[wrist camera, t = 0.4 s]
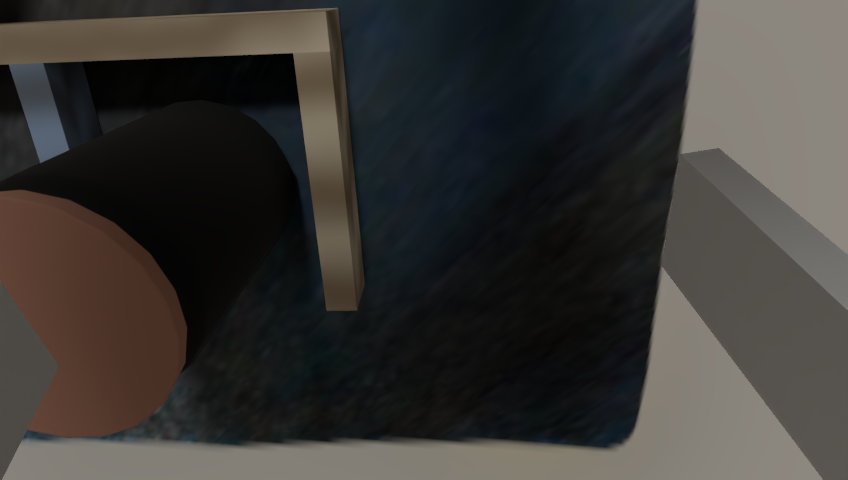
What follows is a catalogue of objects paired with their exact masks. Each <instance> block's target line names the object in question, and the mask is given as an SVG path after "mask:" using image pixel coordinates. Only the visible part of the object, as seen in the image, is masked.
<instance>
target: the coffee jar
mask: <svg viewBox="0 0 848 480" xmlns="http://www.w3.org/2000/svg"><path fill="white" fill-rule="evenodd" d="M293 196H294V187H293V182H292V177H291V172H290V168H289V164H288V162H287V160H286V159H285V157H284V155H283V153H282V151H281V150H280V148H279V146H278V144H277V142H276V140H275V139H274V138H273V137H272V136H271V135H270V134H269V133H268V132H267V131H266V130H265V129H264V128H263V127H262V126H261V125H260V124H259V123H258V122H257V121H256V120H254V119H252V118H250V117H249V116H247V115H245V114H243V113H241V112H240V111H238V110H236V109H234V108H232V107H231V106H228V105H223V104H219V103H214V102H210V101H205V100H195V101H184V102H175V103H173V104H171V105H168V106H166V107H164V108H162V109H159V110H157V111H155V112H153V113H151V114H148V115H146V116H144V117H142V118H139V119H137V120H135V121H133V122H130V123H128V124H126V125H124V126H122V127H119V128H117V129H115V130H113V131H110V132H108V133H106V134H104V135H102V136H99V137H97V138H95V139H93V140H90V141H88V142H86V143H84V144H82V145H79V146H77V147H75V148H73V149H70V150H68V151H66V152H64V153H62V154H59V155H57V156H55V157H53V158H50V159H48V160H46V161H44V162H41V163H39V164H37V165H35V166H33V167H30V168H28V169H26V170H24V171H21V172H19V173H17V174H15V175H13V176H11V177H9V178H7V179H5V180H2V181H0V281H1V283H2V284H3V286H4V287H5V289H6V290H7V291H8V293H9V294H10V296H11V297H12V299H13V300H14V302H15V303H16V304H17V306H18V307H19V309H20V310H21V312H22V313H23V315H24V316H25V318H26V319H27V320H28V322H29V323H30V325H31V326H32V328H33V329H34V331H35V332H36V334H37V335H38V336H39V338H40V339H41V341H42V342H43V344H44V345H45V347H46V348H47V349H48V351H49V352H50V354H51V355H52V357H53V358H54V360H55V361H56V363H57V364H58V365H59V367H58V369H57V371H56V373H55V375H54V377H53V379H52V381H51V383H50V385H49V387H48V389H47V391H46V393H45V395H44V397H43V399H42V401H41V403H40V405H39V407H38V409H37V411H36V413H35V415H34V417H33V419H32V421H31V423H30V425H29V427H28V429H27V430H31V431H36V432H41V433H46V434H51V435H56V436H61V437H66V438H75V437H98V436H107V435H110V434H113V433H116V432H119V431H122V430H124V429H127V428H130V427H133V426H136V425H138V424H140V423H141V422H142V421H144V420H145V419H146V418H147V417H148V416H150V415H151V414H152V413H153V412H154V411H156V410H157V409H158V408H159V407H160V406H162V405H163V404H164V403H165V402H166V400H167V398H168V396H169V394H170V393H171V391H172V389H173V387H174V385H175V383H176V381H177V379H178V377H179V375H180V373H181V372H183V371H184V370H185V369H186V368H187V367H189V366H190V365H191V364H192V363H193V362H194V360H195V359H196V357H197V356H198V355H199V353H200V352H201V350H202V349H203V347H204V346H205V344H206V343H207V341H208V340H209V338H210V337H211V336H212V334H213V333H214V331H215V330H216V328H217V327H218V325H219V324H220V322H221V321H222V319H223V318H224V316H225V315H226V314H227V312H228V311H229V309H230V308H231V306H232V305H233V303H234V302H235V300H236V299H237V297H238V296H239V295H240V293H241V292H242V290H243V289H244V287H245V286H246V284H247V283H248V281H249V280H250V278H251V277H252V276H253V274H254V273H255V271H256V270H257V268H258V267H259V265H260V264H261V262H262V261H263V259H264V258H265V257H266V255H267V254H268V252H269V251H270V249H271V248H272V246H273V245H274V243H275V242H276V240H277V239H278V238H279V236H280V235H281V233H282V231H283V229H284V227H285V225H286V223H287V221H288V219H289V217H290V216H291V211H292V203H293Z"/></svg>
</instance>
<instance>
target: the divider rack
mask: <svg viewBox="0 0 848 480" xmlns="http://www.w3.org/2000/svg"><path fill="white" fill-rule="evenodd" d="M283 53H293V56H294V64H295V72H296V80H297V87H298V95H299V103H300V110H301V118H302V126H303V134H304V141H305V149H306V157H307V164H308V172H309V180H310V188H311V195H312V203H313V211H314V218H315V226H316V234H317V242H318V249H319V257H320V265H321V272H322V280H323V288H324V296H325V303H326V311H357V309H358V306H359V303H360V299H361V296H362V293H363V289H364V286H365V280H364V270H363V259H362V249H361V238H360V228H359V218H358V207H357V197H356V187H355V176H354V166H353V155H352V145H351V135H350V124H349V114H348V104H347V93H346V83H345V72H344V62H343V52H342V41H341V31H340V21H339V10H338V8H327V9H305V10H282V11H260V12H237V13H215V14H193V15H170V16H148V17H125V18H103V19H81V20H58V21H36V22H13V23H0V65H6V64H9V67H10V70H11V73H12V76H13V80H14V83H15V86H16V89H17V92H18V95H19V98H20V101H21V104H22V107H23V111H24V114H25V117H26V120H27V123H28V126H29V129H30V132H31V135H32V138H33V141H34V145H35V148H36V151H37V154H38V157H39V160H40V163H41V162H44V161H46V160H48V159H50V158H53V157H55V156H57V155H59V154H62V153H64V152H66V151H68V150H70V149H73V148H75V147H77V146H79V145H82V144H84V143H86V142H88V141H90V140H93V139H95V138H97V137H99V136H102V132H101V129H100V125H99V121H98V118H97V114H96V110H95V107H94V103H93V99H92V96H91V92H90V88H89V85H88V81H87V77H86V74H85V70H84V66H83V63H82V61H107V60H132V59H157V58H183V57H208V56H233V55H258V54H283Z"/></svg>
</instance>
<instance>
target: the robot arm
mask: <svg viewBox="0 0 848 480" xmlns="http://www.w3.org/2000/svg"><path fill="white" fill-rule="evenodd" d="M662 267H663V268H664V269H665V271H666V272H667V273H668V275H669V276H670V277H671V279H672V280H673V281H674V283H675V284H676V285H677V286H678V288H679V289H680V290H681V292H682V293H683V294H684V296H685V297H686V298H687V300H688V301H689V302H690V304H691V305H692V306H693V308H694V309H695V310H696V312H697V313H698V314H699V316H700V317H701V318H702V320H703V321H704V322H705V324H706V325H707V326H708V328H709V329H710V330H711V331H712V333H713V334H714V335H715V337H716V338H717V339H718V341H719V342H720V343H721V345H722V346H723V347H724V349H725V350H726V351H727V353H728V354H729V355H730V357H731V358H732V359H733V361H734V362H735V363H736V365H737V366H738V367H739V369H740V370H741V371H742V373H743V374H744V375H745V377H746V378H747V379H748V381H749V382H750V383H751V384H752V386H753V387H754V388H755V390H756V391H757V392H758V394H759V395H760V396H761V398H762V399H763V400H764V402H765V403H766V404H767V406H768V407H769V408H770V410H771V411H772V412H773V414H774V415H775V416H776V418H777V419H778V420H779V422H780V423H781V424H782V426H783V427H784V428H785V430H786V431H787V432H788V433H789V435H790V436H791V437H792V439H793V440H794V441H795V443H796V444H797V445H798V447H799V448H800V449H801V451H802V452H803V453H804V455H805V456H806V457H807V459H808V460H809V461H810V463H811V464H812V465H813V467H814V468H815V469H816V471H817V472H818V473H819V475H820V476H821V477H822V478H823V480H848V255H847V254H846V253H845V252H844V251H842V250H841V249H840V248H839V247H838V246H836V245H835V244H834V243H833V242H832V241H830V240H829V239H828V238H827V237H825V236H824V235H823V234H822V233H820V232H819V231H818V230H817V229H816V228H815V227H813V226H812V225H811V224H810V223H808V222H807V221H806V220H805V219H804V218H803V217H801V216H800V215H799V214H798V213H796V212H795V211H794V210H793V209H792V208H790V207H789V206H788V205H787V204H786V203H784V202H783V201H782V200H780V199H779V198H778V197H777V196H776V195H774V194H773V193H772V192H771V191H770V190H769V189H767V188H766V187H765V186H764V185H763V184H761V183H760V182H759V181H758V180H757V179H755V178H754V177H753V176H752V175H751V174H749V173H748V172H747V171H746V170H744V169H743V168H742V167H741V166H740V165H738V164H737V163H736V162H734V160H732V159H731V158H730V157H729V156H728V155H726V154H725V153H724V152H723V151H722V150H720V149H719V148H717V149H711V150H704V151H698V152H693V153H686V154H681V155H680V160H679V166H678V172H677V178H676V184H675V190H674V196H673V202H672V208H671V213H670V219H669V225H668V231H667V237H666V243H665V249H664V255H663V261H662ZM58 367H59V365H58V364H57V363H56V361H55V360H54V358H53V357H52V355H51V354H50V352H49V351H48V349H47V348H46V347H45V345H44V344H43V342H42V341H41V339H40V338H39V336H38V335H37V334H36V332H35V331H34V329H33V328H32V326H31V325H30V323H29V322H28V320H27V319H26V318H25V316H24V315H23V313H22V312H21V310H20V309H19V307H18V306H17V304H16V303H15V302H14V300H13V299H12V297H11V296H10V294H9V293H8V291H7V290H6V289H5V287H4V286H3V284H2V283H1V281H0V480H2V478H3V476H4V474H5V472H6V470H7V468H8V466H9V464H10V462H11V460H12V458H13V456H14V454H15V452H16V450H17V448H18V446H19V444H20V443H21V441H22V439H23V437H24V435H25V433H26V431H27V429H28V427H29V425H30V423H31V421H32V419H33V417H34V415H35V413H36V411H37V409H38V407H39V405H40V403H41V401H42V399H43V397H44V395H45V393H46V391H47V389H48V387H49V385H50V383H51V381H52V379H53V377H54V375H55V373H56V371H57V369H58Z"/></svg>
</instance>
